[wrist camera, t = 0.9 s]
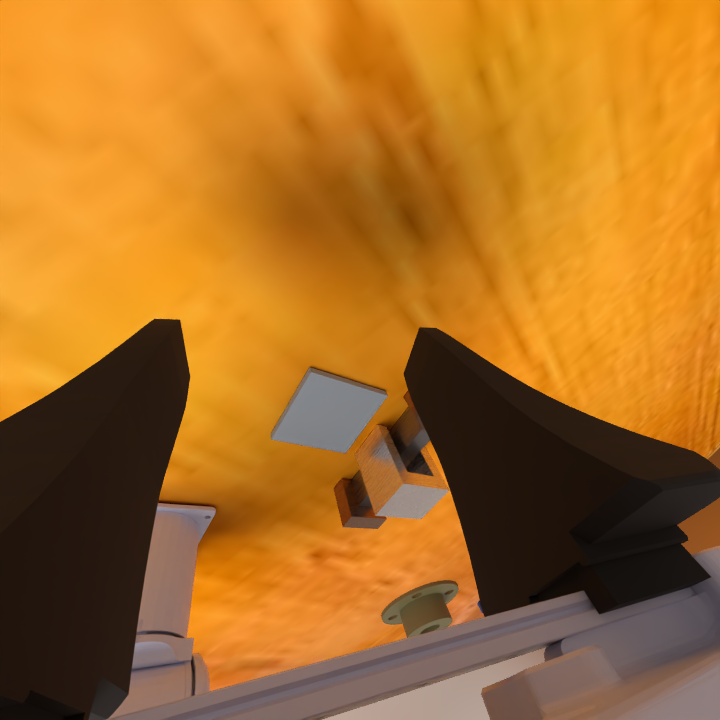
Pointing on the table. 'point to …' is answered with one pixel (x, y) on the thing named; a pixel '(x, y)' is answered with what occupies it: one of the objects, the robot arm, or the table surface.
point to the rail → (353, 492)
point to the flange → (422, 608)
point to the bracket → (398, 478)
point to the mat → (327, 412)
